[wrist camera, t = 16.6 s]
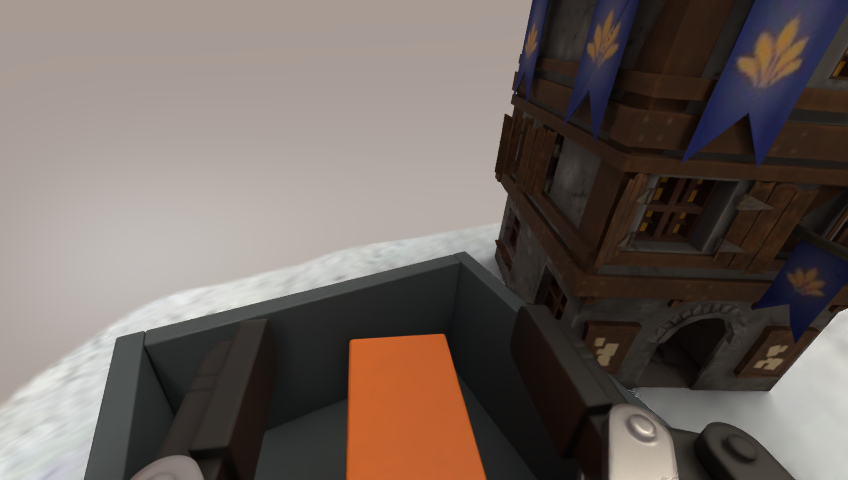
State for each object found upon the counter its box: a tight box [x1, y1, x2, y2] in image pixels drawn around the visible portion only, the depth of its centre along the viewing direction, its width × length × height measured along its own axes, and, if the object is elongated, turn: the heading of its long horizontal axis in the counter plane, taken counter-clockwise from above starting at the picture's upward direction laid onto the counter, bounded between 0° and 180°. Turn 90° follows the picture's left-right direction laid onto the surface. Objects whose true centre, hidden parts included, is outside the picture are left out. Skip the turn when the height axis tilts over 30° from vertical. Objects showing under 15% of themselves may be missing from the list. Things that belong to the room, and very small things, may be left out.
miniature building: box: [495, 0, 848, 391], centre depth 19 cm, size 19×21×30 cm
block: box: [345, 334, 487, 480], centre depth 12 cm, size 3×5×8 cm, turn 9°
